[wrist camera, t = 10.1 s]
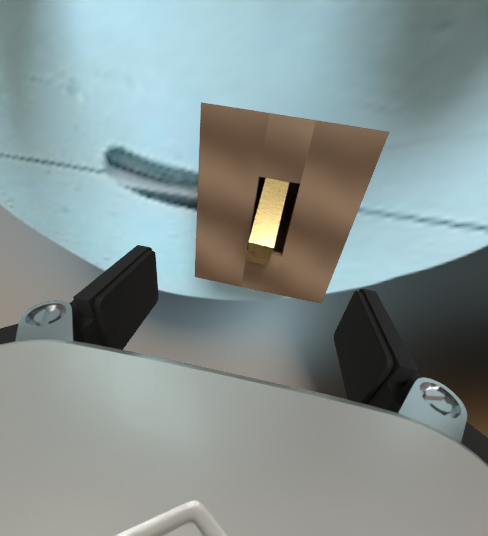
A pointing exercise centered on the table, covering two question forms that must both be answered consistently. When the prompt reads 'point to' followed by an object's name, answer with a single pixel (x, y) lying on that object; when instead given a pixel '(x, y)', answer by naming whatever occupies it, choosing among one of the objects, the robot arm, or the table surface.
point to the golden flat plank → (267, 221)
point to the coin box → (296, 203)
